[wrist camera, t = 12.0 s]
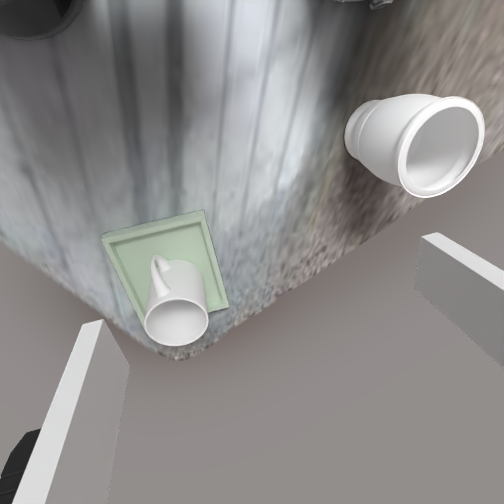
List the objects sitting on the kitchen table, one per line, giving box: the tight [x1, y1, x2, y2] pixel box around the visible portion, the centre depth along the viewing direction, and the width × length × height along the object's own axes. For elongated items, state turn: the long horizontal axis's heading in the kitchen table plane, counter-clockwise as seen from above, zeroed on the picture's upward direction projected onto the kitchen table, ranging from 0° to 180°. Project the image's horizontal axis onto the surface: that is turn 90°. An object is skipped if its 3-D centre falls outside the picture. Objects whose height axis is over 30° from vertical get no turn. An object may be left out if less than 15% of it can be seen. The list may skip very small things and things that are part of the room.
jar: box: [344, 94, 485, 198], centre depth 39 cm, size 11×10×15 cm
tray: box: [101, 210, 229, 329], centre depth 49 cm, size 18×15×2 cm
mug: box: [144, 255, 209, 346], centre depth 45 cm, size 9×12×11 cm
